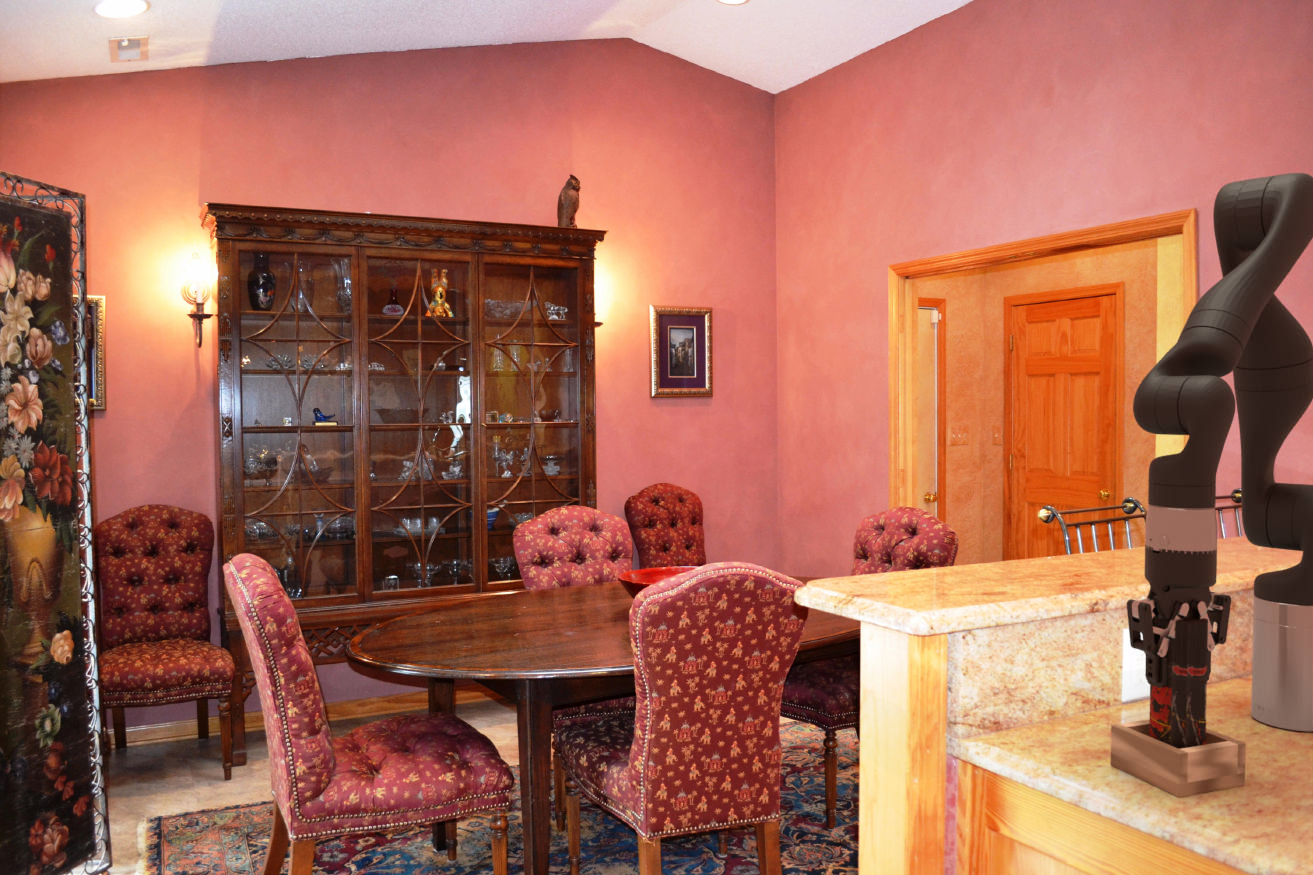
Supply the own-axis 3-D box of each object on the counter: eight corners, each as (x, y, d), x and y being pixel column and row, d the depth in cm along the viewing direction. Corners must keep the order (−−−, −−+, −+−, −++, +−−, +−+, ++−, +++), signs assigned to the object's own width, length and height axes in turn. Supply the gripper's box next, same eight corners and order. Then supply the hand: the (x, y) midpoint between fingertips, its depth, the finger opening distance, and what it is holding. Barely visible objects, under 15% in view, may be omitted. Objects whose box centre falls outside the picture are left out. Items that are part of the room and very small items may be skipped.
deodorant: (1213, 751, 110) (1216, 624, 109) (1158, 748, 111) (1160, 622, 110) (1195, 733, 116) (1197, 612, 115) (1142, 730, 117) (1144, 610, 116)
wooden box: (1173, 754, 120) (1173, 715, 120) (1244, 784, 110) (1245, 742, 110) (1110, 764, 117) (1111, 724, 116) (1178, 797, 107) (1179, 753, 107)
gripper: (1199, 536, 118) (1196, 668, 119) (1108, 542, 114) (1106, 680, 114) (1254, 544, 111) (1251, 685, 112) (1159, 551, 106) (1157, 698, 107)
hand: (1177, 682), depth 113 cm, fingers closed on deodorant, 6 cm apart
